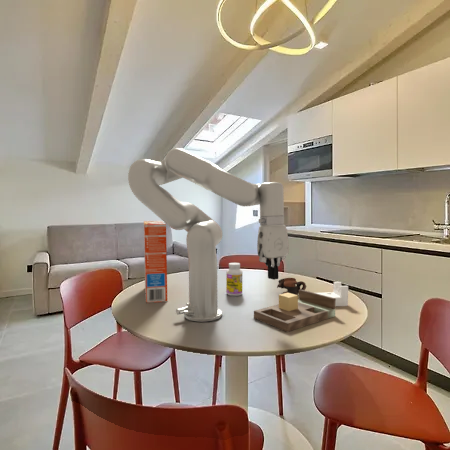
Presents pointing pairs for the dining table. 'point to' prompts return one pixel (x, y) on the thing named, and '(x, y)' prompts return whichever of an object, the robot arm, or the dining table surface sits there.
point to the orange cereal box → (155, 261)
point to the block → (288, 301)
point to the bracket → (338, 294)
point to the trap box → (299, 312)
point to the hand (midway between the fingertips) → (273, 278)
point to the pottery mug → (291, 285)
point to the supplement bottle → (234, 280)
